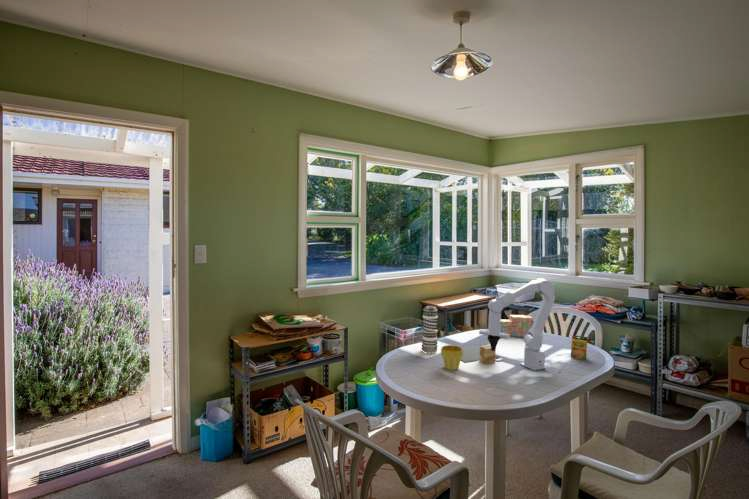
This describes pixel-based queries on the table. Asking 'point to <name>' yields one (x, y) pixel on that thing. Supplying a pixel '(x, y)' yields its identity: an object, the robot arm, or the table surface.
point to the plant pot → (451, 356)
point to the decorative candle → (429, 329)
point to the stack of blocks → (516, 325)
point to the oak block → (487, 354)
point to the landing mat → (472, 354)
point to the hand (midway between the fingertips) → (493, 350)
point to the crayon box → (579, 347)
